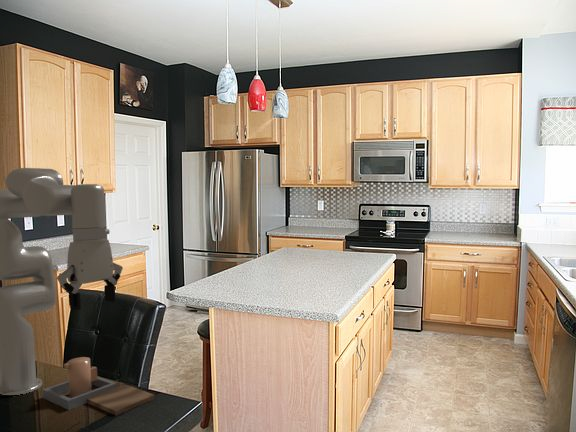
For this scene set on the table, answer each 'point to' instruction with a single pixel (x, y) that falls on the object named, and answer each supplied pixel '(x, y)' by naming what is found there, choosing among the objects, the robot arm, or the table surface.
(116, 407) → the board
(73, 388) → the tan tapered capsule
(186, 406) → the table surface
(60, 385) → the holder frame
